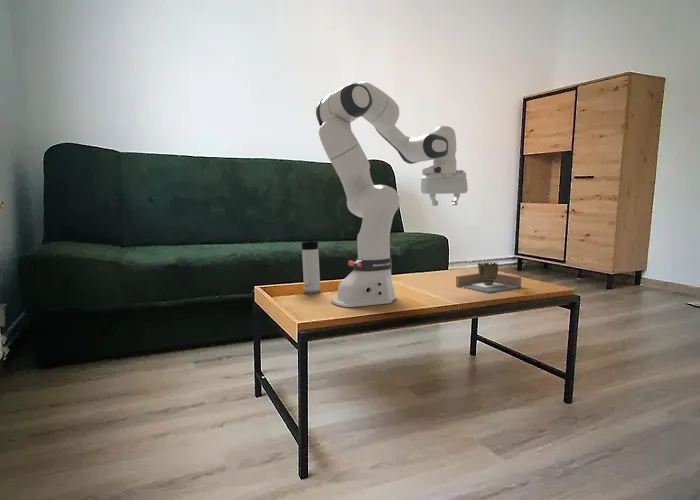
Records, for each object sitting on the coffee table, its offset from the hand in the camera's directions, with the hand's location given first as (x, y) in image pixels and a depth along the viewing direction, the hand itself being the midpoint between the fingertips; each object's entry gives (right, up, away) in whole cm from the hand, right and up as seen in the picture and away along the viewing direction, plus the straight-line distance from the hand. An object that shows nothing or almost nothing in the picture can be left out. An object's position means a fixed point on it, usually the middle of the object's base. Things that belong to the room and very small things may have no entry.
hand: (444, 205), depth 179 cm
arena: (+14, -31, -8) cm, 35 cm away
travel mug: (-52, -34, -3) cm, 62 cm away
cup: (+15, -31, -6) cm, 35 cm away
